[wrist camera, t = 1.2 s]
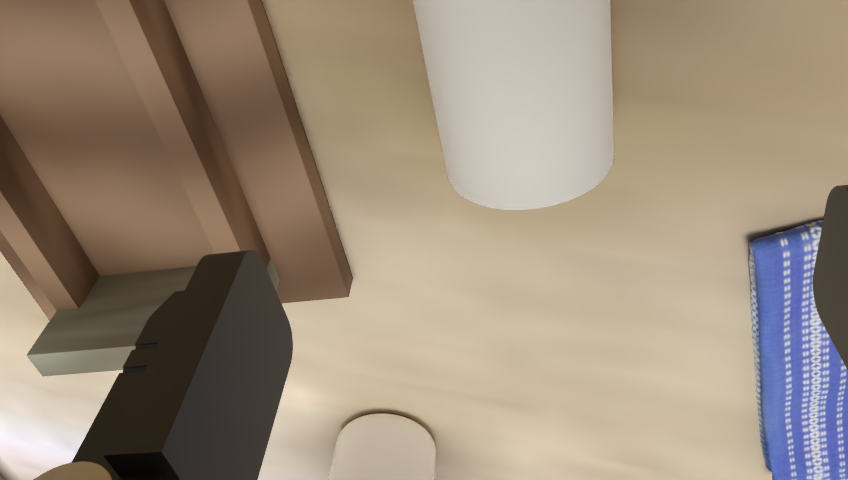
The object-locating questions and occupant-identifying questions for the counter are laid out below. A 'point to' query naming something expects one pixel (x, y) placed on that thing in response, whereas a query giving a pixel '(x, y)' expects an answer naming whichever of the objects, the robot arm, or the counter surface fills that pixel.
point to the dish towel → (796, 362)
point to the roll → (520, 97)
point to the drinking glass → (383, 450)
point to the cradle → (149, 165)
